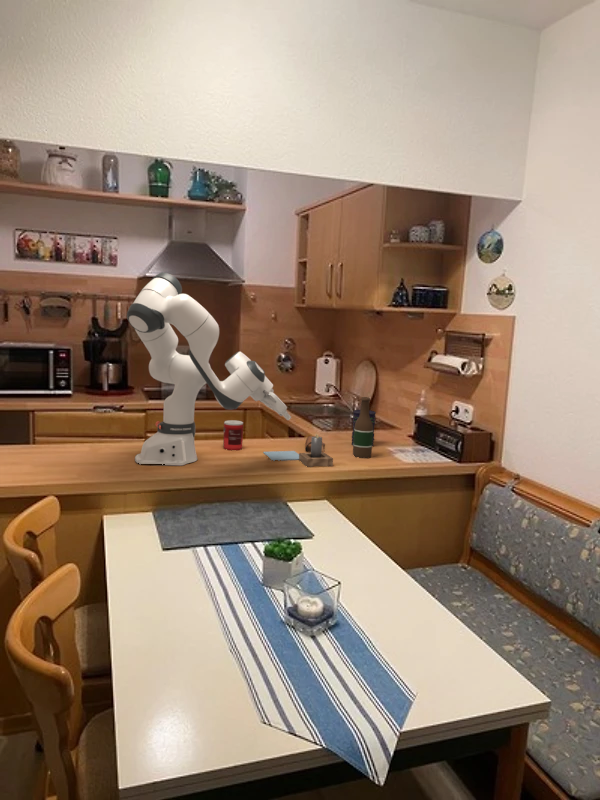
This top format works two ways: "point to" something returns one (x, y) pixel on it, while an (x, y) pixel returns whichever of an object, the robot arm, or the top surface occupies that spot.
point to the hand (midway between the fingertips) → (286, 416)
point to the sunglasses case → (308, 444)
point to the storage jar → (356, 416)
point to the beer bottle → (363, 432)
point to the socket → (315, 460)
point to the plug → (316, 447)
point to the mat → (282, 455)
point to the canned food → (233, 435)
